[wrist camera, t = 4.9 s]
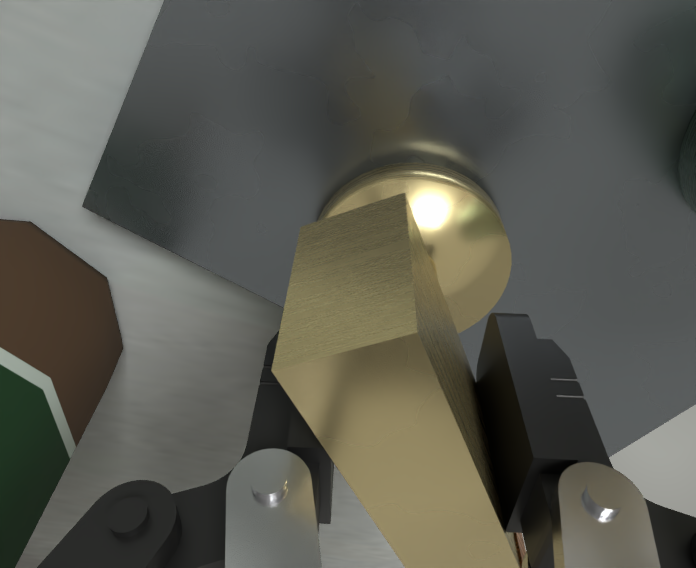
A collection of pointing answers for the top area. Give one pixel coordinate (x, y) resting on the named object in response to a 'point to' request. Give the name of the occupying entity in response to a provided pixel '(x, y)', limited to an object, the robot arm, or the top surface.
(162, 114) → the base plate
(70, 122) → the top surface
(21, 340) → the beer bottle
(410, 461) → the knob
